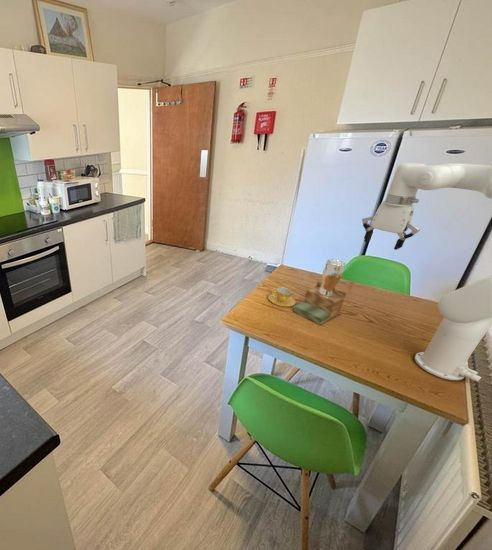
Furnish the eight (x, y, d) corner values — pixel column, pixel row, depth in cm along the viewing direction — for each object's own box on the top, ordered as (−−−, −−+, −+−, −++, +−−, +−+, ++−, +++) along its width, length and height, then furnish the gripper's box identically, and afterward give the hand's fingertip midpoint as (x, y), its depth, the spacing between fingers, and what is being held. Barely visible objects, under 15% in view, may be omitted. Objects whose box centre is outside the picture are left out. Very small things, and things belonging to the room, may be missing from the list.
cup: (292, 295, 147) (294, 285, 144) (298, 308, 136) (301, 298, 134) (266, 292, 149) (268, 283, 147) (270, 305, 139) (272, 295, 137)
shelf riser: (339, 313, 132) (346, 292, 127) (319, 324, 125) (327, 302, 120) (312, 301, 141) (318, 281, 136) (293, 311, 134) (298, 290, 129)
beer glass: (313, 290, 133) (322, 259, 126) (326, 288, 134) (336, 258, 127) (325, 298, 127) (335, 266, 120) (339, 296, 128) (350, 265, 121)
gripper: (435, 203, 100) (414, 249, 107) (375, 194, 113) (360, 236, 121) (425, 206, 96) (404, 254, 104) (365, 197, 110) (351, 240, 118)
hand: (381, 244), depth 113 cm, fingers open, 9 cm apart
